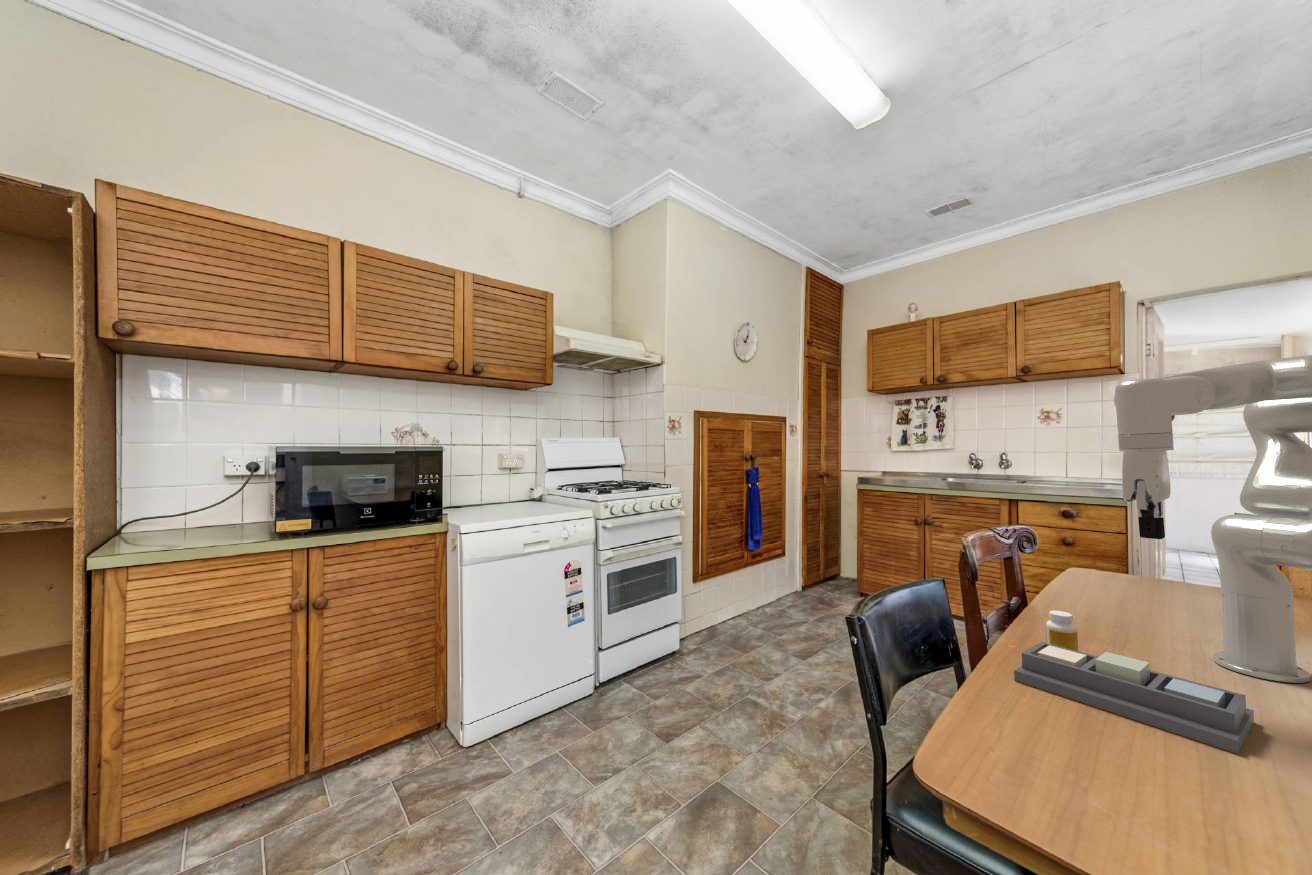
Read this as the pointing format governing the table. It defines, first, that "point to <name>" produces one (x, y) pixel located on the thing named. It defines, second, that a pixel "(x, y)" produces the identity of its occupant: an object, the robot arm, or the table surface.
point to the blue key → (1196, 692)
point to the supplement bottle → (1061, 630)
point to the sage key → (1123, 668)
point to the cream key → (1063, 656)
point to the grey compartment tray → (1141, 699)
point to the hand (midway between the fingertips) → (1152, 537)
